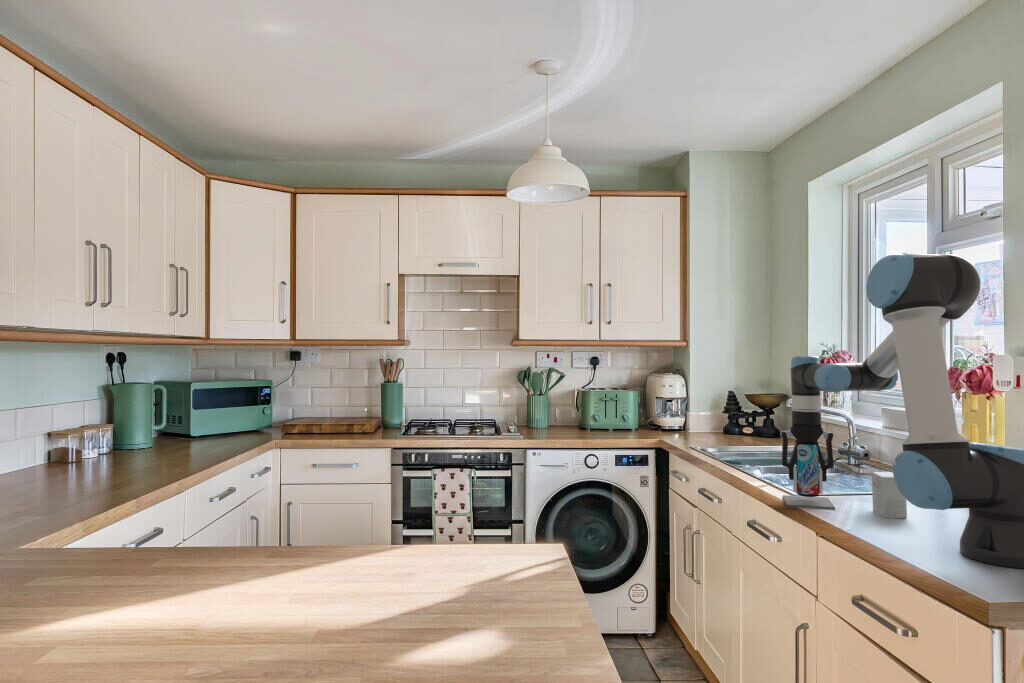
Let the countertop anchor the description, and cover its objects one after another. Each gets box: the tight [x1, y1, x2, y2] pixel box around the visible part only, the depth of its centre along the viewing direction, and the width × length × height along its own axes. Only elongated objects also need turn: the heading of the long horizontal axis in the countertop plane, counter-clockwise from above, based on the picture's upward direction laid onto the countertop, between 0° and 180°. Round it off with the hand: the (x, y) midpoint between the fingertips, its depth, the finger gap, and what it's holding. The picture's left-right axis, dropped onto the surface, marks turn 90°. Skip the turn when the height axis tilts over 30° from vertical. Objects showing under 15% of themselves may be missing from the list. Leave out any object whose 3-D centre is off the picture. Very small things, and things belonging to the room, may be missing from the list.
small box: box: [871, 471, 908, 519], centre depth 167 cm, size 8×6×10 cm
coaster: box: [782, 494, 836, 510], centre depth 181 cm, size 12×12×1 cm
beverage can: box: [795, 440, 820, 497], centre depth 181 cm, size 6×6×15 cm
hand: (807, 492), depth 181 cm, fingers closed on beverage can, 6 cm apart
